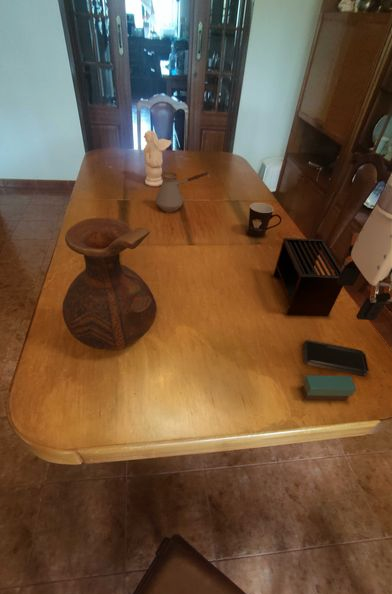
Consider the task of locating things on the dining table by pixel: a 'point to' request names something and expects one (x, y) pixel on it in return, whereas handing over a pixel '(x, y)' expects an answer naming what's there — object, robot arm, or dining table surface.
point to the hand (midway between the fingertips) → (354, 300)
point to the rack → (307, 277)
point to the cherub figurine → (154, 158)
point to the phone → (335, 358)
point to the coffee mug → (260, 219)
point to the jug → (107, 287)
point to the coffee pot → (172, 191)
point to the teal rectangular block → (328, 387)
